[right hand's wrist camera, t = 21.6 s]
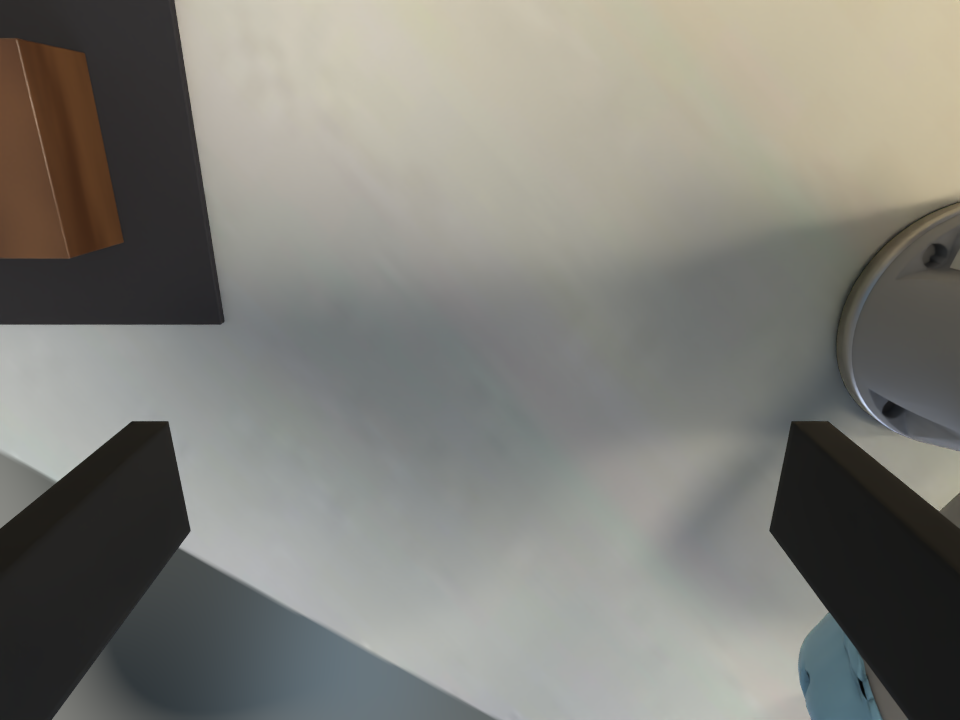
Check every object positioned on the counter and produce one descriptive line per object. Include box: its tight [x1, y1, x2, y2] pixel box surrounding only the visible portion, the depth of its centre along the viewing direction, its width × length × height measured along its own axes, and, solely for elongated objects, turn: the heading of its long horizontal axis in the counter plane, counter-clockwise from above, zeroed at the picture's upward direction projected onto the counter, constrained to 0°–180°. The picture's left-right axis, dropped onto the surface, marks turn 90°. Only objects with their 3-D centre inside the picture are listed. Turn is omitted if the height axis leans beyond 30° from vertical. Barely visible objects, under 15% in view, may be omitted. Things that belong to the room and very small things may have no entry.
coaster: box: [0, 0, 224, 324], centre depth 34 cm, size 20×20×1 cm
